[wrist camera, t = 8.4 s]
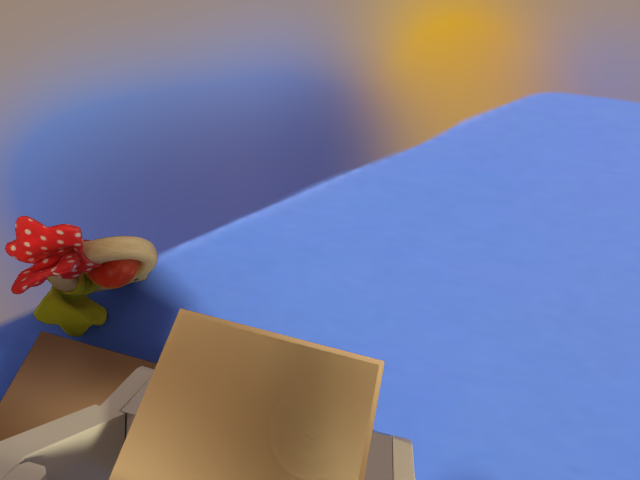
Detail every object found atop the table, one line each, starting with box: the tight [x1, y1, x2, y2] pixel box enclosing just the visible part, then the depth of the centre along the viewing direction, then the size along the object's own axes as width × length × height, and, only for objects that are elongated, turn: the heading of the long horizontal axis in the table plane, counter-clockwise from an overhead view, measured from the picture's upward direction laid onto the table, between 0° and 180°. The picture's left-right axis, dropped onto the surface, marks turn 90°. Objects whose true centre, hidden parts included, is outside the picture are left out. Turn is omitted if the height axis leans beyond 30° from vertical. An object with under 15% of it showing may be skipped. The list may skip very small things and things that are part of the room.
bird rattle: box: [5, 216, 158, 337], centre depth 29 cm, size 6×11×9 cm
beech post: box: [109, 308, 385, 480], centre depth 12 cm, size 5×5×10 cm
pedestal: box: [0, 331, 157, 441], centre depth 25 cm, size 14×14×4 cm
